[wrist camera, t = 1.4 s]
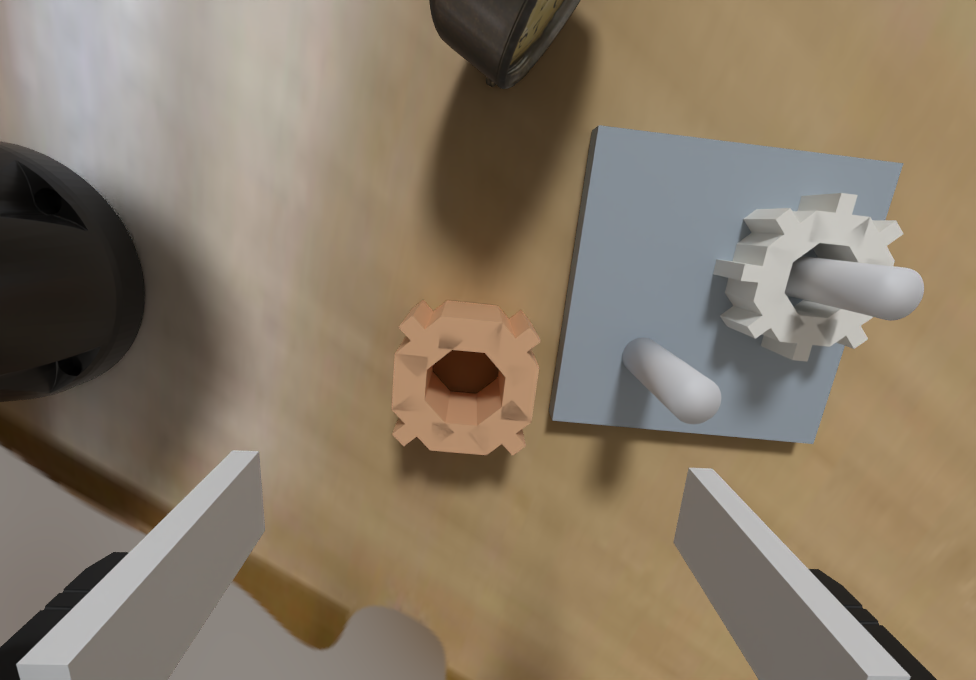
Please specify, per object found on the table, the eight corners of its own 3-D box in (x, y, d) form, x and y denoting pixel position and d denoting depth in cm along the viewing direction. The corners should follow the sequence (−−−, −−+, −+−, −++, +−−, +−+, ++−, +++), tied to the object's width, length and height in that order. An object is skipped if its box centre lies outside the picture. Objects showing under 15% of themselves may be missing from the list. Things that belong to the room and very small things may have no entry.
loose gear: (402, 411, 31) (389, 446, 26) (410, 296, 29) (397, 311, 24) (518, 421, 31) (526, 458, 27) (533, 309, 29) (545, 326, 25)
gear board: (548, 411, 31) (576, 484, 23) (592, 130, 27) (648, 87, 18) (797, 433, 32) (917, 512, 24) (880, 166, 28) (1066, 142, 19)
